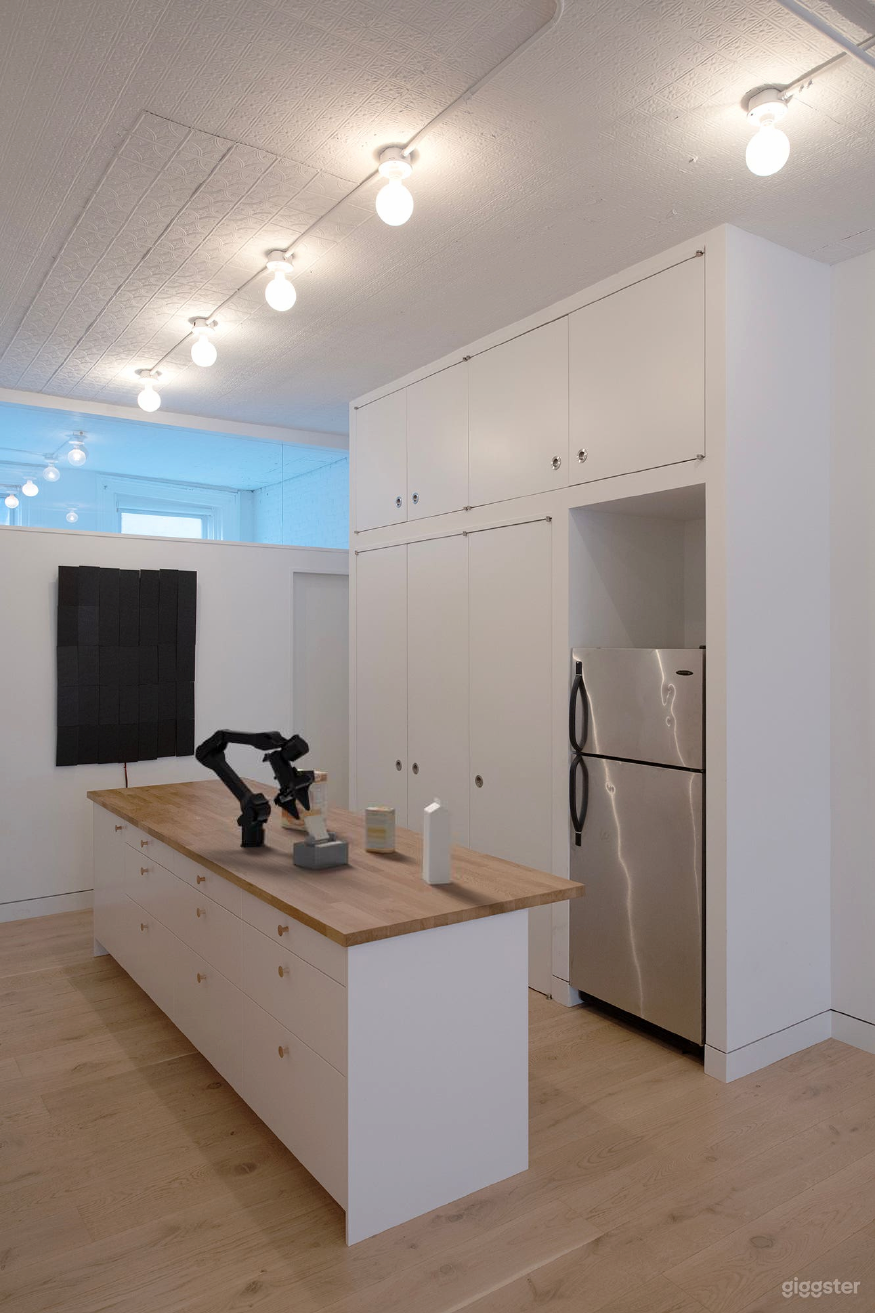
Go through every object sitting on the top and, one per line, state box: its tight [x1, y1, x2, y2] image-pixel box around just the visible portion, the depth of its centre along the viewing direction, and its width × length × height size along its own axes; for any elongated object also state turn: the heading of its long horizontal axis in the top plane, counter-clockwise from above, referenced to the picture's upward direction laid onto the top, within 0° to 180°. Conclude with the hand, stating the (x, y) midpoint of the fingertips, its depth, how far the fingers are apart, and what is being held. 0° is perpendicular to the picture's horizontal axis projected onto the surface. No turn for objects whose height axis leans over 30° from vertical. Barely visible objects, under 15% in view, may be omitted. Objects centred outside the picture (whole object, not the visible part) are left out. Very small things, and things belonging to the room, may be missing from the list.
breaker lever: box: [300, 809, 329, 842], centre depth 254 cm, size 2×6×9 cm
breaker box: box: [292, 831, 350, 871], centre depth 252 cm, size 10×12×8 cm
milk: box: [422, 796, 452, 886], centre depth 235 cm, size 6×6×22 cm
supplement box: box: [364, 806, 396, 854], centre depth 269 cm, size 8×5×13 cm, turn 65°
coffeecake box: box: [280, 768, 328, 832], centre depth 302 cm, size 15×7×20 cm, turn 55°
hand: (303, 815), depth 267 cm, fingers open, 9 cm apart
